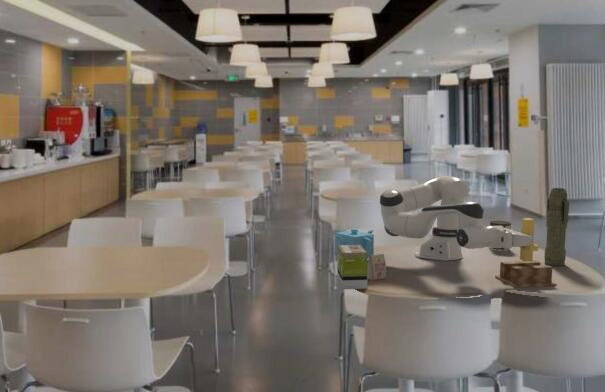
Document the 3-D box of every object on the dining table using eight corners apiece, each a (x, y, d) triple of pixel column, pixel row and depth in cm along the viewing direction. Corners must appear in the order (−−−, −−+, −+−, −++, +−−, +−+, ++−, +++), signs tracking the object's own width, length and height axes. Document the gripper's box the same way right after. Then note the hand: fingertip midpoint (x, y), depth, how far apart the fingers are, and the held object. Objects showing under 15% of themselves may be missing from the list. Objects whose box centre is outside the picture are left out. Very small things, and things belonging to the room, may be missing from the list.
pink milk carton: (366, 278, 251) (367, 254, 250) (380, 276, 255) (381, 253, 253) (371, 280, 248) (372, 256, 247) (385, 278, 251) (386, 254, 250)
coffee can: (494, 251, 307) (495, 224, 306) (485, 247, 317) (486, 220, 316) (513, 251, 308) (514, 223, 307) (504, 247, 319) (505, 220, 317)
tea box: (336, 280, 249) (336, 244, 247) (360, 279, 249) (361, 244, 248) (342, 289, 234) (342, 252, 232) (367, 289, 235) (368, 251, 233)
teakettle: (373, 265, 276) (373, 233, 274) (331, 263, 278) (332, 231, 276) (373, 256, 294) (374, 226, 293) (335, 255, 297) (335, 225, 295)
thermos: (558, 268, 272) (563, 190, 268) (537, 262, 282) (541, 187, 278) (572, 266, 276) (576, 189, 272) (550, 260, 286) (554, 186, 282)
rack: (515, 287, 239) (515, 269, 238) (495, 277, 254) (495, 261, 253) (556, 285, 242) (557, 268, 241) (534, 275, 257) (535, 259, 257)
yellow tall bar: (529, 263, 241) (531, 221, 239) (515, 257, 252) (517, 216, 250) (537, 263, 242) (539, 220, 240) (522, 257, 253) (524, 216, 251)
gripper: (485, 239, 254) (515, 238, 257) (510, 249, 234) (543, 248, 237) (485, 224, 253) (516, 224, 256) (511, 233, 233) (543, 232, 236)
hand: (529, 235), depth 246 cm, fingers closed on yellow tall bar, 3 cm apart
